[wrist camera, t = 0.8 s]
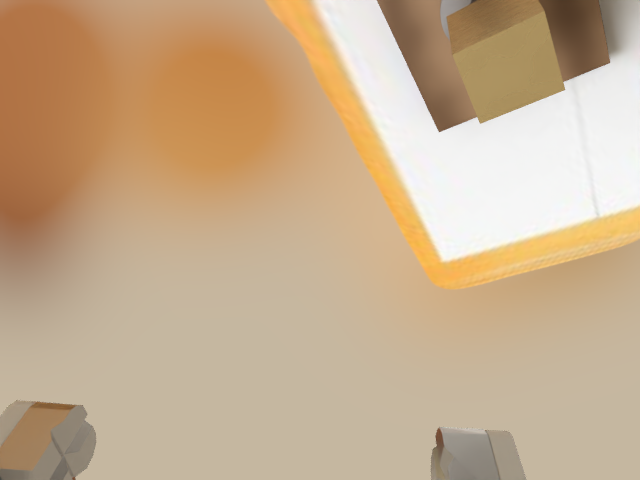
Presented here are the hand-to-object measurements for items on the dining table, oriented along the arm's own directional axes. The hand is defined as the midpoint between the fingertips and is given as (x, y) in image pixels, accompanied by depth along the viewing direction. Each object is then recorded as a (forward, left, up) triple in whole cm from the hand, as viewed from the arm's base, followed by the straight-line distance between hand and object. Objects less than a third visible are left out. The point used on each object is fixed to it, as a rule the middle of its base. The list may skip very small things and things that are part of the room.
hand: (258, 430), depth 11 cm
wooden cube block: (-7, +8, -33) cm, 35 cm away
